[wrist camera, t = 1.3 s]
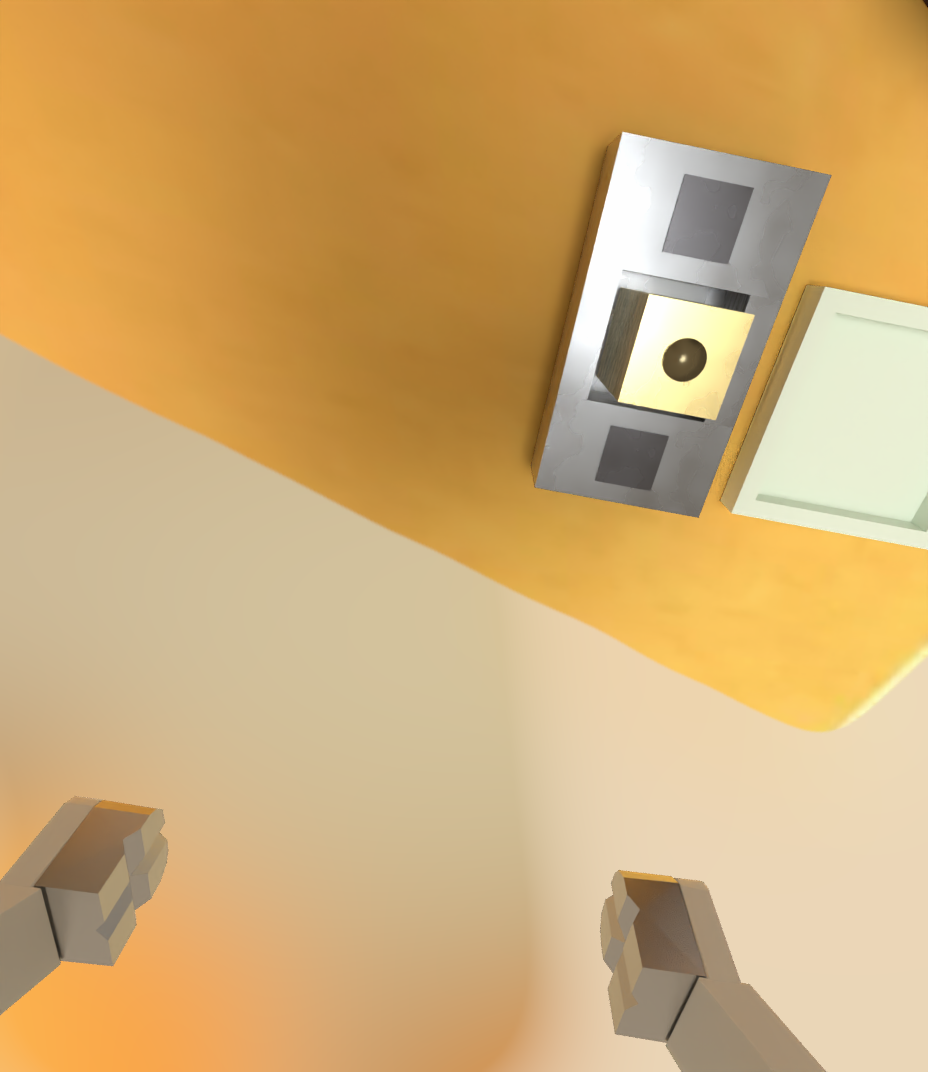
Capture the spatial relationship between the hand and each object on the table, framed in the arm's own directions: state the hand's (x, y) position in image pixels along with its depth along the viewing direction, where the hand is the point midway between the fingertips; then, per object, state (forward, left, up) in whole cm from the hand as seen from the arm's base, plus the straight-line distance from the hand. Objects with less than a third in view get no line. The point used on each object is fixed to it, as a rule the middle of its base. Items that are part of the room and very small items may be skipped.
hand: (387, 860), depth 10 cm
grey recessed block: (-7, +9, -26) cm, 29 cm away
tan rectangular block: (-7, +9, -26) cm, 28 cm away
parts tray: (-5, +22, -26) cm, 34 cm away
